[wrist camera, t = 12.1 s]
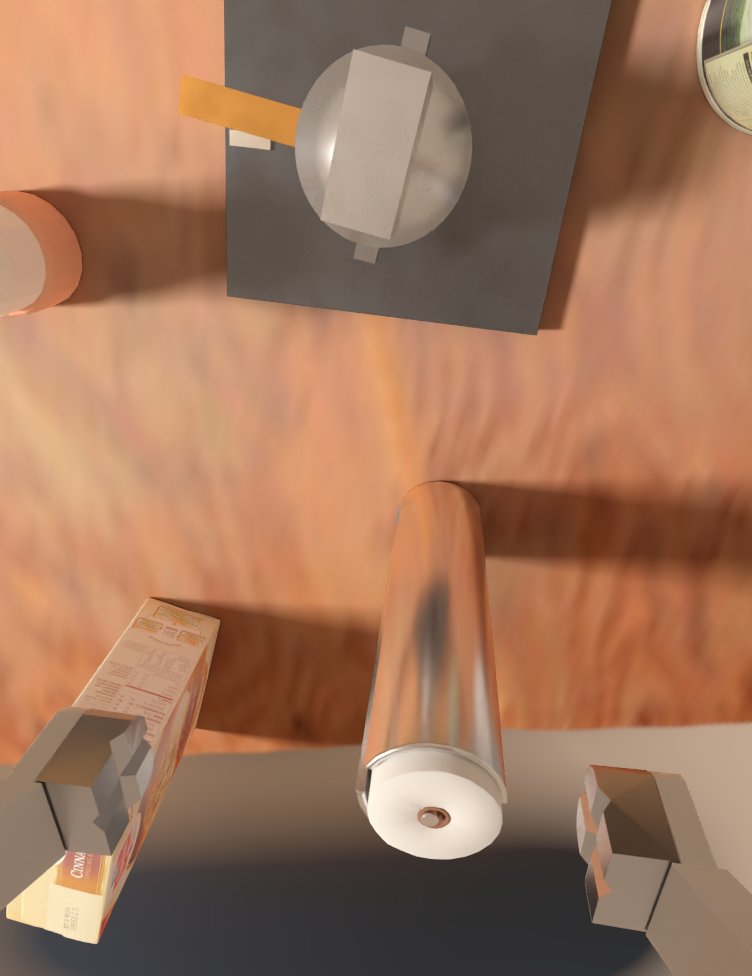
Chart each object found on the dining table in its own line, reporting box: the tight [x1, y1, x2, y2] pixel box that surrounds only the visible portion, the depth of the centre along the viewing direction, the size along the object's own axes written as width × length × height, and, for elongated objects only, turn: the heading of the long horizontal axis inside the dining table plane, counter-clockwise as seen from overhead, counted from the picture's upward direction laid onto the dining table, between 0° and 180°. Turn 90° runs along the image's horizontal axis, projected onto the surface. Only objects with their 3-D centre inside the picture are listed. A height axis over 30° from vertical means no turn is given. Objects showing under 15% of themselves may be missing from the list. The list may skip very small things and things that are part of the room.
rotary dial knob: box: [178, 26, 472, 264], centre depth 28 cm, size 14×10×9 cm
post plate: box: [224, 0, 612, 335], centre depth 34 cm, size 20×19×5 cm
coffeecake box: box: [7, 598, 220, 944], centre depth 49 cm, size 15×7×20 cm, turn 163°
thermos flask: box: [355, 481, 508, 859], centre depth 36 cm, size 6×6×25 cm
